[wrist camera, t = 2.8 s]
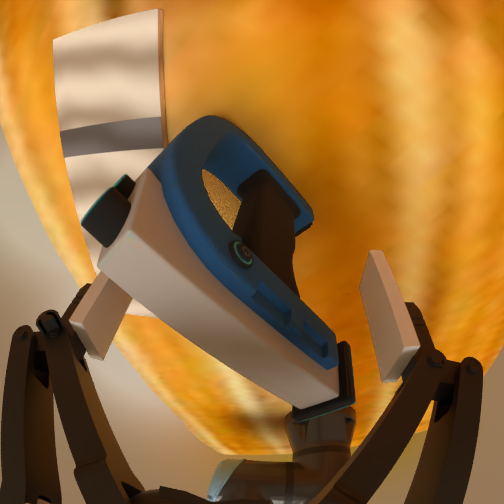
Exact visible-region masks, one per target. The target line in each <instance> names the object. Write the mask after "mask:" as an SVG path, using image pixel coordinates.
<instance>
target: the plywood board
mask: <svg viewBox="0 0 504 504" xmlns="http://www.w3.org/2000/svg"><path fill="white" fill-rule="evenodd" d="M53 60H54V79H55V92H56V102H57V111H58V119H59V126H60V137H61V143H62V149H63V155H64V158H65V162H66V167H67V172H68V177H69V181H70V186H71V190H72V194H73V198H74V202H75V206H76V210H77V214H78V218H79V221H80V225H81V220H82V218H83V217H84V215H85V214H86V213H87V211H88V210H89V209H90V208H91V206H92V205H93V204H94V203H95V202H96V200H97V199H98V198H99V197H100V196H101V195H102V194H103V193H104V192H105V191H106V190H107V189H108V188H110V187H113V186H114V185H115V183H116V182H117V181H118V180H119V179H120V178H121V177H122V176H123V175H125V174H127V175H128V176H129V177H130V178H131V179H132V180H133V181H135V180H136V179H137V178H138V177H139V176H140V175H141V173H142V172H143V171H144V170H145V169H146V168H147V167H148V166H149V165H150V164H151V163H152V161H153V160H154V159H155V158H156V157H157V156H158V155H159V154H160V153H161V152H162V151H163V150H164V149H165V148H166V147H167V146H168V141H167V128H166V113H165V96H164V73H163V10H161V9H152V10H148V11H143V12H138V13H134V14H130V15H126V16H122V17H118V18H114V19H111V20H107V21H104V22H101V23H98V24H94V25H91V26H88V27H85V28H82V29H80V30H77V31H74V32H71V33H69V34H66V35H64V36H61V37H59V38H56V39H54V40H53ZM81 228H82V232H83V235H84V239H85V242H86V245H87V248H88V251H89V254H90V258H91V261H92V263H93V266H94V269H95V272H96V275H97V276H98V274H99V273H100V271H101V270H99V269H98V267H97V262H98V258H99V255H100V251H101V248H102V244H100V243H99V242H98V241H97V240H96V239H95V238H94V237H93V236H92V235H91V234H90V233H89V232H88V231H86V230H85V229H84V228H83V227H82V226H81ZM125 314H132V315H140V316H147V317H155V318H158V317H157V316H156V315H154V314H153V313H152V312H150V311H149V310H148V309H147V308H145V307H144V306H143V305H141V304H140V303H139V302H138V301H136V300H135V299H134V298H133V299H132V301H131V303H130V305H129V307H128V309H127V311H126V313H125Z"/></svg>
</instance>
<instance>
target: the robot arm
mask: <svg viewBox="0 0 504 504" xmlns="http://www.w3.org/2000/svg"><path fill="white" fill-rule="evenodd" d="M359 289H360V292H361V296H362V300H363V304H364V307H365V311H366V315H367V319H368V323H369V327H370V331H371V335H372V339H373V343H374V348H375V352H376V357H377V361H378V366H379V371H380V376H381V381H382V383H388V382H397V380H398V379H399V378H400V376H401V375H402V379H403V383H402V384H401V386H400V387H399V388H398V390H397V391H396V392H395V393H396V394H395V395H394V397H393V399H392V400H391V402H390V403H389V405H388V406H387V408H386V409H385V411H384V412H383V414H382V415H381V417H380V418H379V420H378V421H377V423H376V424H375V425H374V427H373V428H372V430H371V431H370V432H369V434H368V435H367V436H366V438H365V439H364V441H363V442H362V443H361V444H360V446H359V447H358V449H357V450H356V451H355V452H354V453H353V455H352V456H351V453H350V445H351V441H352V437H353V433H354V429H355V425H356V414H355V410H354V409H353V408H351V407H349V406H348V407H345V408H342V409H339V410H336V411H333V412H330V413H327V414H324V415H321V416H318V417H315V418H311V419H308V420H305V421H301V422H298V421H296V420H294V419H293V418H292V412H291V413H289V414H288V415H287V416H286V418H285V431H286V434H287V436H288V439H289V442H290V445H291V448H292V451H293V461H292V462H271V461H253V460H246V459H242V460H235V459H226V460H223V461H221V462H220V463H219V465H218V466H217V468H216V469H215V471H214V474H213V476H212V479H211V482H210V485H209V489H208V496H207V500H205V499H203V498H201V497H198V496H196V495H193V494H191V493H188V492H186V491H182V490H177V489H172V488H167V487H163V486H160V488H159V489H155V490H149V491H145V489H144V487H143V486H142V484H141V483H140V481H139V480H138V479H137V478H136V477H135V475H134V474H133V472H132V471H131V469H130V467H129V465H128V463H127V461H126V459H125V457H124V455H123V453H122V451H121V449H120V447H119V445H118V443H117V441H116V438H115V436H114V434H113V432H112V429H111V427H110V425H109V422H108V420H107V417H106V415H105V413H104V410H103V408H102V405H101V402H100V400H99V398H98V395H97V392H96V389H95V386H94V383H93V381H92V378H91V375H90V372H89V368H88V365H87V363H86V359H85V358H84V354H85V352H86V351H87V352H88V354H89V356H90V357H91V358H94V359H98V360H102V361H103V360H104V358H105V355H106V353H107V351H108V349H109V346H110V345H111V342H112V340H113V338H114V336H115V334H116V332H117V330H118V328H119V326H120V323H121V321H122V319H123V317H124V315H125V313H126V311H127V309H128V307H129V305H130V303H131V301H132V299H133V297H131V296H130V295H129V294H128V293H127V292H125V291H124V290H123V289H122V288H121V287H119V286H118V285H117V284H116V283H115V282H113V281H112V280H111V279H110V278H109V277H108V276H106V275H105V274H104V273H103V272H102V271H100V273H99V274H98V276H97V277H96V279H95V280H94V282H93V283H92V284H89V283H87V284H86V285H85V286H83V287H82V288H81V289H80V290H79V292H78V293H77V295H76V297H75V298H74V299H73V301H72V303H71V304H70V305H69V307H68V308H67V310H66V312H65V313H64V315H63V316H62V318H60V316H59V314H58V312H57V311H55V310H47V311H45V312H43V313H42V314H41V315H39V317H38V319H37V321H36V326H37V327H38V329H39V330H40V332H33V330H32V329H31V327H30V326H28V325H24V326H21V327H19V328H18V329H17V330H16V331H15V332H14V334H13V337H12V341H11V347H10V352H9V358H8V364H7V370H6V377H5V385H4V395H3V405H2V406H3V407H2V421H1V467H2V483H1V488H0V504H62V498H61V488H60V481H59V474H58V466H57V458H56V447H55V433H54V409H53V407H54V406H53V392H54V396H55V400H56V404H57V408H58V412H59V415H60V419H61V422H62V425H63V429H64V432H65V435H66V438H67V441H68V444H69V447H70V450H71V453H72V455H73V458H74V461H75V464H76V468H75V469H74V476H75V479H76V481H77V484H78V486H79V489H80V491H81V493H82V495H83V497H84V499H85V502H86V504H367V502H368V501H369V499H370V498H371V497H372V496H373V494H374V493H375V492H376V490H377V489H378V488H379V486H380V485H381V484H382V482H383V481H384V479H385V478H386V477H387V475H388V474H389V472H390V471H391V469H392V468H393V466H394V465H395V463H396V461H397V460H398V458H399V457H400V456H401V454H402V452H403V451H404V449H405V447H406V446H407V444H408V443H409V441H410V439H411V437H412V436H413V434H414V432H415V430H416V429H417V427H418V425H419V423H420V421H421V420H422V418H423V416H424V414H425V412H426V410H427V408H428V406H429V404H430V402H431V400H434V405H433V410H432V415H431V419H430V423H429V427H428V432H427V435H426V439H425V443H424V446H423V450H422V453H421V457H420V460H419V463H418V466H417V469H416V473H415V475H414V478H413V481H412V484H411V487H410V489H409V492H408V495H407V497H406V500H405V502H404V504H463V500H464V497H465V493H466V490H467V486H468V482H469V478H470V474H471V469H472V464H473V460H474V455H475V448H476V443H477V437H478V430H479V422H480V413H481V403H482V388H483V367H482V365H481V363H480V362H479V361H478V360H477V359H475V358H473V357H466V358H464V359H463V360H462V362H461V363H459V362H454V361H450V360H447V359H446V357H445V356H444V354H443V353H442V352H440V351H439V350H436V349H435V347H434V344H433V342H432V339H431V336H430V334H429V331H428V329H427V326H426V323H425V321H424V319H423V316H422V314H421V311H420V309H419V308H418V307H417V306H416V305H415V304H414V302H404V300H403V297H402V295H401V292H400V290H399V287H398V285H397V283H396V280H395V278H394V276H393V273H392V271H391V269H390V266H389V264H388V262H387V260H386V257H385V255H384V253H383V251H382V250H370V251H369V255H368V258H367V262H366V266H365V269H364V273H363V276H362V280H361V283H360V286H359Z"/></svg>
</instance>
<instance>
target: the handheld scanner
mask: <svg viewBox="0 0 504 504" xmlns="http://www.w3.org/2000/svg"><path fill="white" fill-rule="evenodd" d="M202 169H205V170H207V171H209V172H210V173H212V174H213V175H215V176H216V177H217V178H218V179H219V180H221V181H222V182H223V183H224V184H225V185H226V186H227V187H228V188H229V189H230V190H231V191H232V192H233V194H234V195H235V196H236V197H237V198H238V199H239V200H240V201H241V202H242V203H241V206H240V209H239V212H238V215H237V217H236V220H235V223H234V226H233V230H231V229H230V228H229V226H228V225H227V224H226V222H225V221H224V220H223V219H222V217H221V216H220V215H219V213H218V211H217V210H216V208H215V206H214V205H213V203H212V202H211V200H210V198H209V196H208V193H207V191H206V189H205V186H204V182H203V178H202ZM313 220H314V216H313V211H312V209H311V207H310V206H309V205H308V203H307V202H306V201H305V200H304V199H303V197H302V196H301V195H300V194H299V193H298V191H297V190H296V189H295V188H294V187H293V185H292V184H291V183H290V182H289V181H288V179H287V178H286V177H285V176H284V175H283V174H282V172H281V171H280V170H279V169H278V168H277V167H276V166H275V164H274V163H273V162H272V161H271V160H270V159H269V158H268V156H267V155H266V154H265V153H264V152H263V151H262V150H261V149H260V147H259V146H258V145H257V144H256V143H255V142H254V141H253V140H252V139H250V138H249V137H248V136H247V135H246V134H245V133H244V132H242V131H241V130H240V129H239V128H237V127H236V126H235V125H233V124H232V123H230V122H229V121H227V120H225V119H223V118H221V117H218V116H211V115H208V116H204V117H202V118H200V119H198V120H196V121H194V122H193V123H191V124H190V125H188V126H187V127H186V128H185V129H184V130H183V131H182V132H181V133H179V134H178V135H177V136H176V137H175V138H174V139H173V140H172V142H171V143H170V144H169V145H168V146H167V147H166V148H165V149H164V150H163V151H162V152H161V153H160V154H159V155H158V156H157V157H156V158H155V159H154V160H153V161H152V163H151V164H150V165H149V166H148V167H147V168H146V169H145V170H144V171H143V172H142V173H141V175H140V176H139V177H138V178H137V179H136V180H135V181H133V180H132V179H131V178H130V177H129V176H128V175H127V174H125V175H123V176H122V177H121V178H120V179H119V180H118V181H117V182H116V183H115V185H114V186H113V187H110V188H108V189H107V190H106V191H105V192H104V193H103V194H102V195H101V196H100V197H99V198H98V199H97V200H96V202H95V203H94V204H93V205H92V206H91V208H90V209H89V210H88V211H87V213H86V214H85V215H84V217H83V218H82V220H81V226H82V227H83V228H84V229H85V230H86V231H88V232H89V233H90V234H91V235H92V236H93V237H94V238H95V239H96V240H97V241H98V242H99V243H100V244H102V248H101V251H100V255H99V258H98V262H97V267H98V269H99V270H101V271H102V272H103V273H104V274H105V275H106V276H108V277H109V278H110V279H111V280H112V281H113V282H115V283H116V284H117V285H118V286H119V287H121V288H122V289H123V290H124V291H125V292H127V293H128V294H129V295H130V296H131V297H133V298H134V299H135V300H136V301H138V302H139V303H140V304H141V305H143V306H144V307H145V308H147V309H148V310H149V311H150V312H152V313H153V314H154V315H156V316H157V317H158V318H159V319H161V320H162V321H163V322H165V323H166V324H167V325H169V326H170V327H172V328H173V329H174V330H176V331H177V332H178V333H180V334H181V335H183V336H184V337H185V338H187V339H188V340H190V341H191V342H192V343H194V344H195V345H197V346H198V347H200V348H201V349H203V350H204V351H205V352H207V353H208V354H210V355H211V356H213V357H214V358H216V359H217V360H219V361H220V362H222V363H224V364H225V365H227V366H228V367H230V368H231V369H233V370H234V371H236V372H238V373H239V374H241V375H242V376H244V377H246V378H247V379H249V380H250V381H252V382H254V383H255V384H257V385H259V386H260V387H262V388H264V389H265V390H267V391H269V392H270V393H272V394H274V395H276V396H277V397H279V398H281V399H283V400H284V401H286V402H288V403H290V404H292V405H293V407H292V418H293V419H294V420H296V421H298V422H301V421H305V420H308V419H311V418H315V417H318V416H321V415H324V414H327V413H330V412H333V411H336V410H339V409H342V408H345V407H348V406H350V405H353V404H355V402H356V399H355V387H354V376H353V367H352V357H351V349H350V345H349V344H348V343H347V342H346V341H342V342H340V343H338V344H337V342H336V337H335V334H334V332H333V331H332V330H331V329H330V328H329V327H328V326H327V325H326V324H325V323H324V322H323V321H322V320H321V319H320V318H319V317H318V316H317V315H316V314H315V313H314V312H313V311H312V310H311V309H310V308H309V307H308V306H307V305H306V304H305V303H304V302H303V301H302V300H301V299H300V296H299V292H298V289H297V285H296V282H295V278H294V272H293V264H292V258H293V253H294V250H295V237H296V236H298V235H299V234H301V233H302V232H304V231H305V230H307V229H308V228H310V227H311V225H312V221H313Z"/></svg>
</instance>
